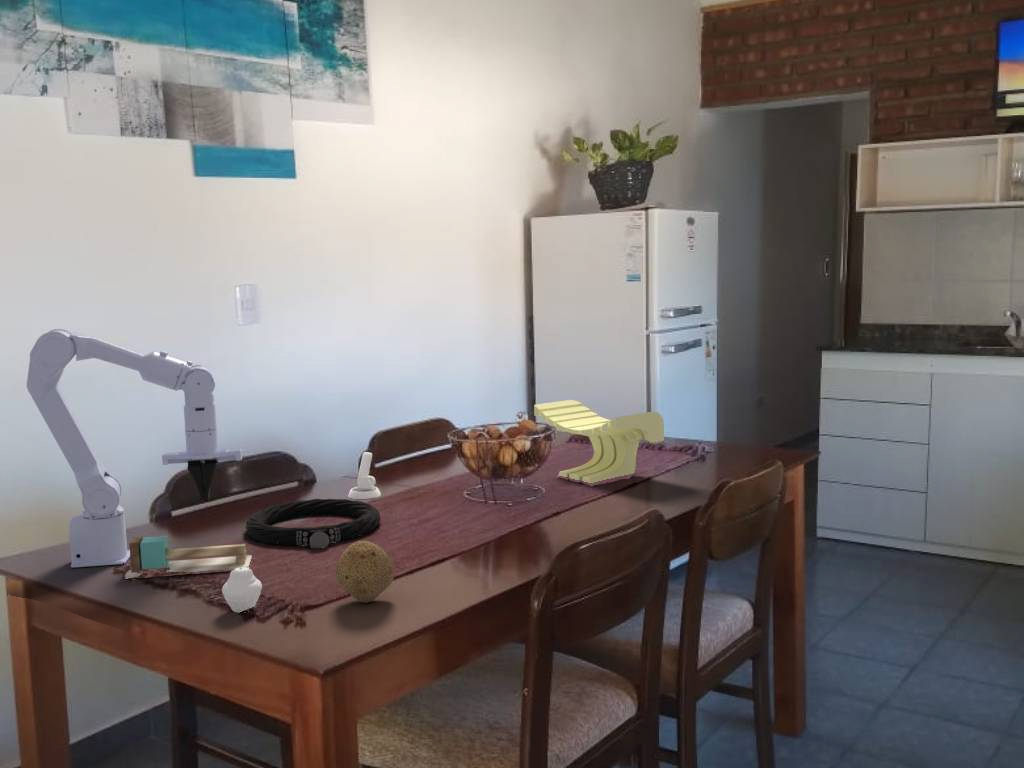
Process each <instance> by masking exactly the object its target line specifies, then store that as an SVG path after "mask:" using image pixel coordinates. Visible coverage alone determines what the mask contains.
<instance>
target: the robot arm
mask: <svg viewBox="0 0 1024 768" xmlns="http://www.w3.org/2000/svg"><path fill="white" fill-rule="evenodd" d="M75 356H76V358H75V359H76V360H75V361H76V362H78V361H83V360H90V359H97V360H100V361H104V362H107V363H110V364H114V365H117V366H121V367H123V368H128V369H131V370H134V371H137V372H139V374H140V376H141V379H142V380H143V381H145V382H148V383H151V384H154V385H156V386H160V387H163V388H166V389H169V390H173V391H175V392H177V391H183V393H184V406H183V416H184V430H185V431H184V432H185V433H184V434H185V444H186V445H185V446H186V447H185V448H186V450H184V451H175V452H165V453H163V454H161V458H162V466H165V465H171V464H174V465H175V464H187V470H188V473H189V474H190V476H191V477H192V479H193V481H194V483H195V485H196V487H197V490H198V494H199V497H200V500H201V501H205V500H206V501H208V500H210V497H211V496H210V494H211V486H212V483H213V479H214V475H215V472H216V470H217V467H218V464H219V462H223V461H238V462H239V461H242V460H243V449H242V448H235V449H233V448H226V449H225V448H218V435H217V430H218V429H217V417H216V405H215V403H214V401H215V396H214V393H213V392H214V391H215V387H216V382H215V381H214V378H213V375H212V373H211V372H210V371H209V370H208V369H207V368H206V367H203V366H202V365H201V364H194V365H193V361H191V360H187V361H183V360H180V359H178V358H174V357H172V356H168V352H167V351H163V350H161V351H160V352H157V351H151V352H149V353H147V354H141V353H139V352H136V351H133V350H131V349H128V348H125V347H122V346H120V345H117V344H114V343H111V342H110V341H107V340H104V339H101V338H98V337H95V336H91V335H88V334H85V333H84V334H83V333H79V332H70V331H68V330H66V329H63V328H62V329H61V328H55V329H51V330H49V331H47V332H45V333H43V334H41V335H40V336H39V337H38V338H37V340H36V342H35V343H34V345H33V347H32V348H31V351H30V353H29V363H28V365H29V366H28V372H27V378H26V379H27V380H26V388H27V392H29V395H30V396H31V398H32V400H33V402H34V404H35V405H36V407H37V409H38V411H39V413H40V415H41V416H42V418H43V421H44V422H45V424H46V425H47V428H48V429H49V431H50V432H51V434H52V436H53V438H54V440H55V441H56V443H57V444H58V447H59V449H60V450H61V452H62V454H63V455H64V457H65V459H66V461H67V463H68V465H69V466H70V468H71V470H72V472H73V474H74V477H75V481H76V483H77V486H78V489H79V490H80V492H81V497H82V498H81V504H82V507H83V509H84V511H83V512H82V514H81V515H74V516H72V517H71V519H70V523H69V532H68V533H69V534H68V535H69V543H70V544H69V545H70V556H71V557H70V558H71V564H70V568H85V567H96V566H110V565H111V566H112V565H123V563H124V564H126V563H127V561H128V560H129V558H130V549H128V544H127V529H126V519H125V518H126V516H125V508H124V507H122V506H121V505H120V504H119V503H120V497H121V496H122V495H121V494H122V485H121V482H120V481H119V480H118V478H117V477H115V476H113V475H112V474H110V473H109V471H108V470H107V469H106V467H105V465H104V464H103V463H102V462H101V460H99V458H98V456H97V453H96V452H95V450H94V449H93V446H92V445H91V443H90V441H89V439H88V437H87V435H86V434H85V433H84V430H83V428H82V427H81V425H80V423H79V422H78V420H77V417H76V416H75V414H74V411H73V410H72V408H71V407H70V405H69V403H68V401H67V400H66V398H65V396H64V394H63V391H62V390H61V388H60V387H59V382H60V381H61V378H62V376H63V373H64V371H65V368H66V367H67V365H68V364H69V363H71V361H72V359H73V358H74V357H75Z"/></svg>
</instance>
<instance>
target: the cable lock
mask: <svg viewBox="0 0 1024 768" xmlns="http://www.w3.org/2000/svg"><path fill="white" fill-rule="evenodd" d="M324 514H327V515H337V514H341V515H340V516H351V515H353V516H352V517H355V516H356V517H355V518H356V519H353V520H348V521H345V522H341V523H338V524H328V525H321V526H315V527H314V526H313V527H311V526H310V527H307V526H306V527H285V526H276V525H275V526H274V525H272V524H273V523H275V522H279V521H284V520H288V519H292V518H298V517H308V516H315V515H317V516H318V515H319V516H320V515H321V516H323V515H324ZM324 516H325V515H324ZM357 517H358V518H357ZM380 521H381V514H380V512H379V509H377V508H376V507H374V506H373V505H371V504H370V503H366V502H364V501H362V500H361V501H360V500H353V499H352V500H351V499H347V498H346V499H345V498H326V499H324V498H323V499H322V498H313V499H309V500H307V499H306V500H304V499H303V500H295V501H290V502H286V503H281V504H280V503H279V504H274V505H272V506H271V505H270V506H269V507H266V508H263V509H260V510H258V511H257V512H254V513H253V514H251V515H250V517H249V518H248V519H246V525H245V527H244V529H245V530H247V531H246V533H247V534H248V535H249V536H250V537H251V538H252V539H253V540H256V541H259V540H261V541H264V542H267V543H266V544H271V543H273V544H272V545H277V543H278V544H285V545H284V546H297V545H300V546H302V545H304V546H303V547H305V546H307V547H312V548H311V549H313V548H322V547H326V548H327V546H330V544H329V543H333V544H335V543H334V542H337V541H338V542H339V541H340V540H343V541H346V540H345V539H347V540H349V539H348V538H352V537H356V536H359V535H362V534H364V535H365V533H366V534H367V532H368V533H370V532H372V531H373V530H374V529H375V528H377V527H378V526H379V524H380ZM371 530H372V531H371ZM369 531H370V532H369ZM362 536H363V535H362ZM359 537H360V536H359ZM356 538H357V537H356ZM352 539H353V538H352ZM261 541H260V542H261ZM264 542H263V543H264ZM338 542H337V543H338ZM340 542H341V541H340ZM340 542H339V543H340ZM309 544H310V545H309ZM308 545H309V546H308ZM300 546H299V547H300Z"/></svg>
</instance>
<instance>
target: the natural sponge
mask: <svg viewBox="0 0 1024 768" xmlns="http://www.w3.org/2000/svg"><path fill="white" fill-rule="evenodd" d="M335 578H336V580H337V582H338V584H339V585H340V586H341V588H342V589H343V590H344V591H346V592H347V594H349V595H350V596H351V597H352V598H353V599H356V601H359V602H361V603H363V604H364V603H365V604H366V603H367V604H368V603H371V602H373V601H375V600H376V599H377V598H378V597H379V596H380V594H382V592H384V591H386V590H387V589H389V587H390V586H391V585H392V582H393V580H394V568H393V565H392V563H391V560H390V558H389V556H388V555H387V553H386V552H385V550H384V549H383V548H382V547H380V546H379V545H378V544H375V543H373V542H372V541H371V542H370V541H368V540H358V541H356V542H353V543H352V544H350V545H349V546H347V547H346V548H345V549H344V551H343V552H342V553H341V555H340V557H339V560H338V563H337V565H336V568H335Z"/></svg>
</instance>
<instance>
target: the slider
mask: <svg viewBox="0 0 1024 768" xmlns="http://www.w3.org/2000/svg"><path fill="white" fill-rule="evenodd" d="M168 540H169V538H168V535H160V536H148V537H147V536H146V537H143V540H142V541H141V543H140V548H141V561H142V569H155V568H166V566H167V565H168V563H169V561H170V559H166V553H165V550H167V549H169V541H168Z"/></svg>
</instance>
